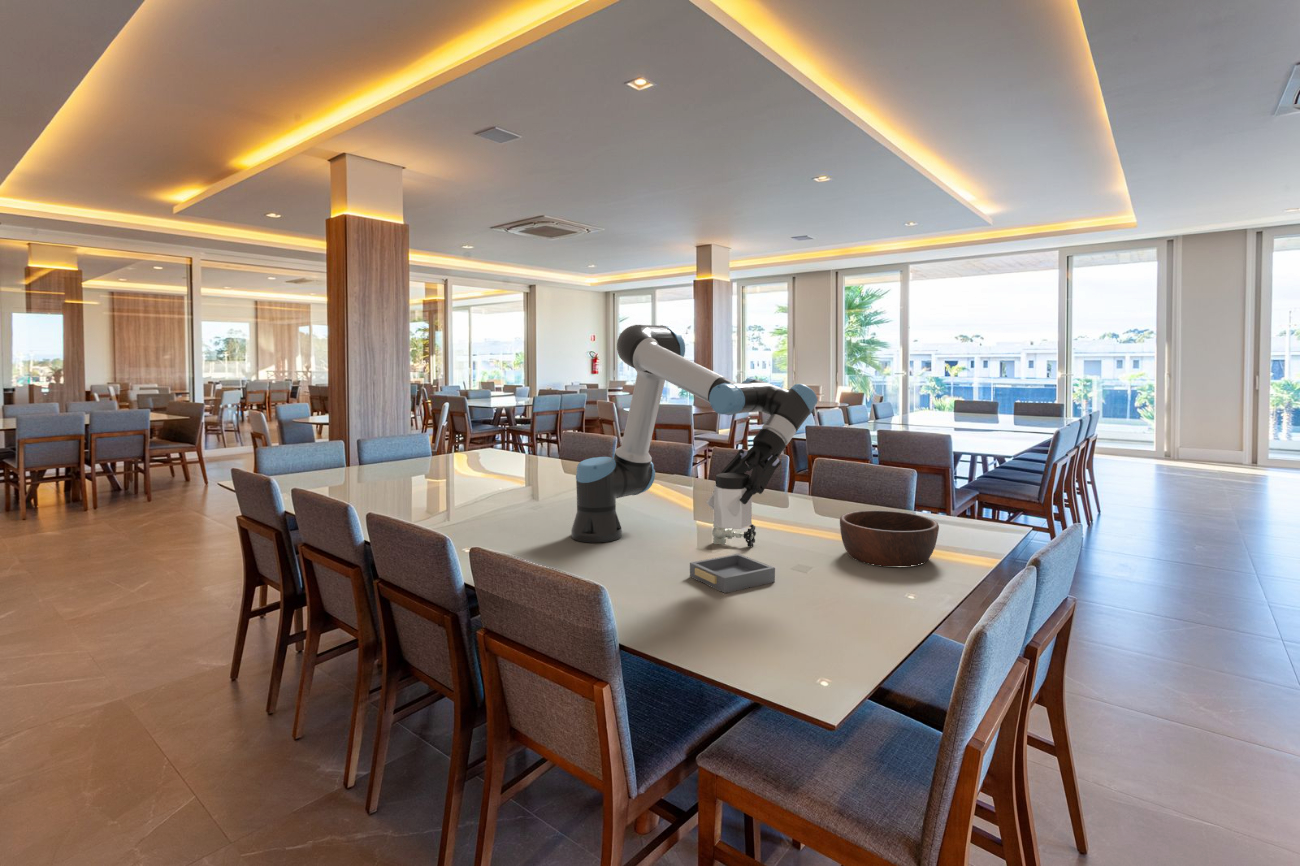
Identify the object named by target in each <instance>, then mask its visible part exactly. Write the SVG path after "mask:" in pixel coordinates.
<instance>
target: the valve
mask: <svg viewBox="0 0 1300 866" xmlns="http://www.w3.org/2000/svg"><path fill="white" fill-rule="evenodd" d="M712 523H713V524H712V526H713V529H712V540H713V541H712V542H714V543H715V544H724V545H726V544H727V540H732V539H733V538H738V539H741V538H742V537H743V539H745V543H747V544H746V545H747V547H749V546H752V547H751V548H753V547H754V544H755V543H756V538H755V537H756V535H757V532H756V531H755V530H756V525H755V524H752V525H751V526H748V528H747V530H746V531H743V532H742V531H740V530H734V529H730V528H721V527H719V526H717V525H715V524H714V520H713V522H712ZM714 543H713V544H714ZM725 543H726V544H725ZM715 544H714V545H715Z"/></svg>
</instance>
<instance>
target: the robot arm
mask: <svg viewBox="0 0 1300 866" xmlns="http://www.w3.org/2000/svg"><path fill="white" fill-rule="evenodd" d="M616 351H617V352H616V353H617V354H618V357H619V358H620V360H622V362H624V364H626V365H627V366H629V367H631V368H632V369H634V370H635V371H636V373H637V375H636V378H635V383H634V388H633V392H632V396H631V400H630V405H629V410H628V415H627V418H626V423H625V424H626V425H625V429H624V431H623V435H622V436H623V437H622V441H621V446H619V447H617V448H616V449H615V451H614V456H613V457H610V456H598V457H590V458H587V459H584V460H581V461H580V462H579V463H578V464H577V465H576V474H575V481H576V514H575V517H574V521H573V523H572V527H571V532H570V533H571V534H570V535H571V539H572V540H574V541H577V542H582V543H591V544H592V543H595V544H596V543H608V542H613V541H617V540H620V539H621V538H622V536H623V530H622V525H621V523H620V519H619V516H618V513H617V506H616V505H617V503H616V502H617V501H616V499H619V498H620V499H621V498H624V497H629V496H638V495H640V494H643V493H645V492H646V491H648V490H649V489H650V488H651V487H652V486H653V484H654V482H655V480H656V479H655V478H656V470H655V469H654V467H655V465H654V463H653V462H652V459H653V457H652V456H651V454H650V452H649V450H650V447H651V441H652V438H653V434H654V429H655V425H656V421H657V416H658V412H659V409H660V405H661V400H662V395H663V391H664V388H665V387H664V386H665V383H666V382H667V383H669V384H671V385H674V386H676V387H678V388H679V389H682V390H684V391H686V392H687V393H689V394H691V395H694V396H695V397H697V398H699V399H701V400H703V401H705V402H707V403H709V405H710V408H712V410H713V411H714V412H715V413H716V414H719V415H725V416H726V415H727V416H732V415H737V414H745V413H756V412H761V413H764V414H767V415H769V417H768V419H767V420H766V421H765V423H764V424H763V425H762V426H761V429H759V431H758V432H757V433H756V435H755V436H754V438H753V439H752V447H751V448H749V449H748V450H747V451H745V450H744V449H743V448H740V449H739V450H738V451H737V453H736V455H735V456H734V457H733V458H732V459H731V460H730V462H729V463H728V464H727V465H726V466H725V467H724V468H723V470H721V472H720V473H719V474H721V473H743V474H746V472H750V471H751V474H750V479H749V482H748V484H746V485H745V487H746V488H747V489H746V488H743V489H744V490H743V496H742V498H741V499H740V495H739V496H738V497H736V498H735V499H734V501H733V502H732V503H731V505H730V506H729V507H728V510H729V511H730V512H731V513H732V514H733V516H737V514H738V513H739V512H740V501H741V502H742V503H743V506H744V505H745V504H746V503H747V502H748V501H749V499H750V498H751V497H753V496H754V495H756V494H759V495H761V494H763V493H764V491H765V489H766V487H767V485H768V484H769V482H770V480H771V479H772V477H773V475H774V474H775V471H776V469H777V468H778V467H779V466H780V465H781V464H782V462H781V460H780V459H779V457H780V456H781V455H782V453H783V452H784V450H785V449H786V446H788V444H789V443H790V442H791V440H792V439H793V438H794V436H795V435H796V433H797V432H798V431H799V429H800V428H801V426H802V425H803V423H805V422H806V420H807V418H809V416H810V415H811V414H812V411H813V410H814V409H815V407H816V405H817V403H818V397H817V393H816V392H815V391H814V390H813V389H812V388H811V387H809V386H807V385H805V384H803V383H796V384H795V383H794V384H793V385H792V387H790V388H789V389H787V388H783V387H780V386H778V385H774V384H772V383H769V382H766V381H765V380H763V379H760V378H759V379H757V378H755V377H748V378H746V379H745V380H743V381H742V382H736V381H734V380H731V379H729V378H727V377H725V376H723V375H721V374H719V373H717V372H715V371H713V370H711V369H709V368H707V367H704V365H703V366H702V365H700V364H699V363H697V362H694V361H692V360H690V359H688V358H686V357H685V353H686V343H685V340H684V338H683V336H682V334H681V332H680V331H679V330H677V329H676V328H674V327H671V326H667V325H663V324H662V325H661V324H660V325H655V324H654V325H652V324H651V325H650V324H649V325H648V324H633V325H630V326H627V327H626V328H625V329H623V330H622V332H620V334H619V336H618V338H617V342H616ZM705 503H706V504H707V506H708V507H710V509H712V510H713V511H714V490H713V491H712V493H711V495H710V496H709V497H708V499H707V500H706V502H705Z"/></svg>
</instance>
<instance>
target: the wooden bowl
mask: <svg viewBox="0 0 1300 866" xmlns="http://www.w3.org/2000/svg"><path fill="white" fill-rule="evenodd" d="M839 527H840V536H841V540H842V544H843V546H844V549H845V550H846V553H847V554H848V555H849V556H850V557H851V558H852V559H853V558H854V560H855V559H856V561H857V560H858V562H860V561H861V562H860V563H863V562H865V563H864V564H867V563H869V564H868V565H871V564H874V565H873V566H876V565H881V566H880V567H883V566H911V565H918V564H921V563H924V562H925V563H927V562H928V561H929V559H930V558H931V556H932V555H933V553H934V550H935V548H936V544H937V540H938V536H939V529H940V525H939V523H938V522H937V521H935V520H934V519H932V518H930V517H927V516H923V515H921V514H915V513H911V512H903V511H896V510H895V511H894V510H884V509H881V510H879V509H878V510H877V509H876V510H875V509H869V510H868V509H867V510H855V511H851V512H846V513H843V515H840V517H839ZM925 563H924V564H925Z"/></svg>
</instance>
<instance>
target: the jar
mask: <svg viewBox="0 0 1300 866" xmlns="http://www.w3.org/2000/svg"><path fill="white" fill-rule="evenodd" d="M720 473H721V472H720ZM720 473H716V475H715V485H713V491H714V510H713V521H714V524H715V525H717V526H719V527H721V528H726V529H729V528H730V529H733V530H734V529H736V530H742V529H744V528H747V527H748V528H749V526H751V525H752V521H753V519H752V515H753V514H752V513H753V512H752V507H753V506H752V505H753V504H752V503H753V502H752V501H753V498H752V497H753V496H752V497H751V498H750V499H749V501H748V502H747V503H746V504H745V505H744V506H743V503H742V502H741V501H740V512H739V513H738V514H737V516H733V514H732V513H731V512H730V511H729V510H728V507H729V506H730V505H731V503H732V502H733V501H734V499H735V498H736V497H738V496H739V495H740V499H741V498H742V496H743V490H744V489H743V488H746V487H745V485H746V484H748V482H749V479H750V476H751V474H748V473H744V474H743V473H721V474H720ZM746 489H747V488H746Z"/></svg>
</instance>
